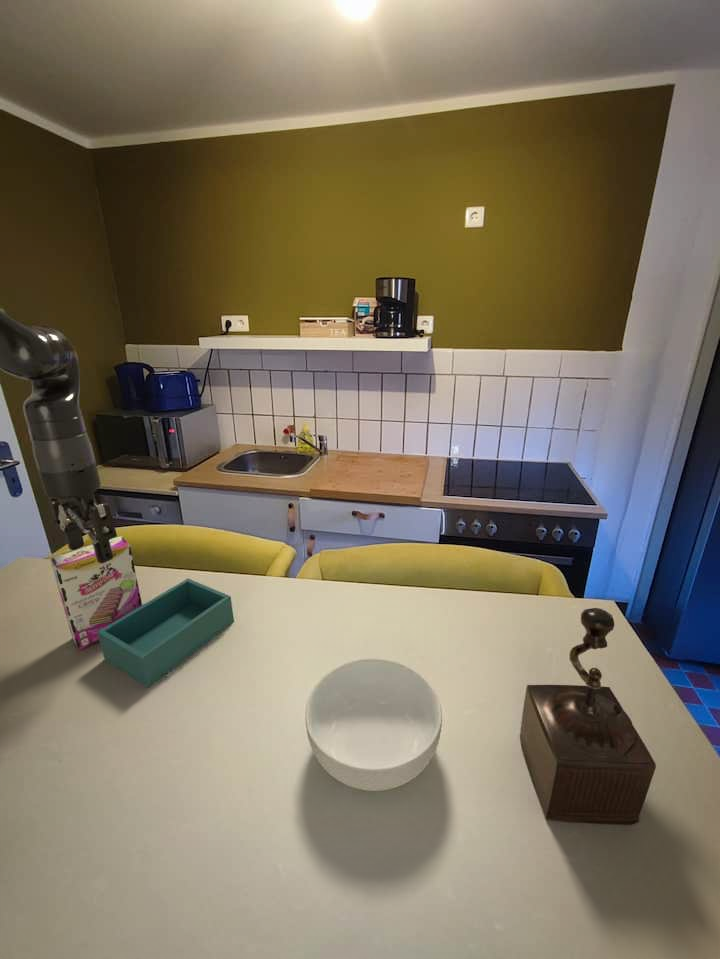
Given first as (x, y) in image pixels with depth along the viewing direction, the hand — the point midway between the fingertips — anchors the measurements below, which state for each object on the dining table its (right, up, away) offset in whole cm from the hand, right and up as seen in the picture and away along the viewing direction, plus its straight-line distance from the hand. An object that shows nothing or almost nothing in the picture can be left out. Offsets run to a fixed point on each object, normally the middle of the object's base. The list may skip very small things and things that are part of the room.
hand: (91, 554), depth 72 cm
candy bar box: (0, -15, +6) cm, 16 cm away
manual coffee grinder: (+71, -23, -18) cm, 77 cm away
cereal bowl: (+47, -22, -16) cm, 54 cm away
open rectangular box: (+12, -15, +3) cm, 20 cm away
